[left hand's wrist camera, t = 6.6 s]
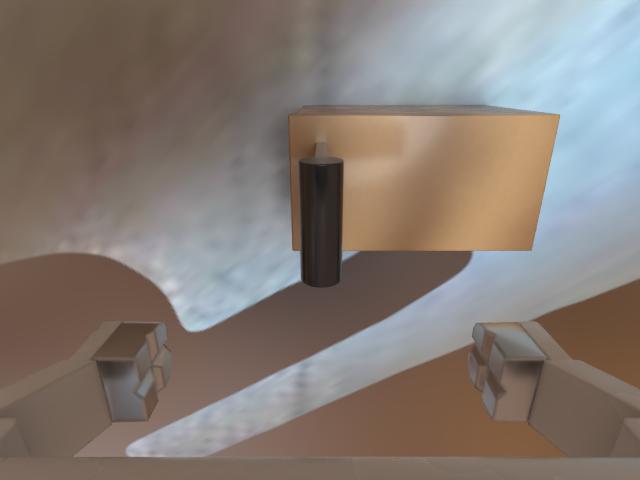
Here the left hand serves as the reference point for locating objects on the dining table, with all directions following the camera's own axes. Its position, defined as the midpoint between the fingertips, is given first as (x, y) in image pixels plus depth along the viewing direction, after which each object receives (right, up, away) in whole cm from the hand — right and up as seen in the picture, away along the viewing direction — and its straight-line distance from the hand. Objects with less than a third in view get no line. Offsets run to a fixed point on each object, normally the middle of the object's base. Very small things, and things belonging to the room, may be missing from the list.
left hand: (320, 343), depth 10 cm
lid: (+7, +7, +17) cm, 19 cm away
